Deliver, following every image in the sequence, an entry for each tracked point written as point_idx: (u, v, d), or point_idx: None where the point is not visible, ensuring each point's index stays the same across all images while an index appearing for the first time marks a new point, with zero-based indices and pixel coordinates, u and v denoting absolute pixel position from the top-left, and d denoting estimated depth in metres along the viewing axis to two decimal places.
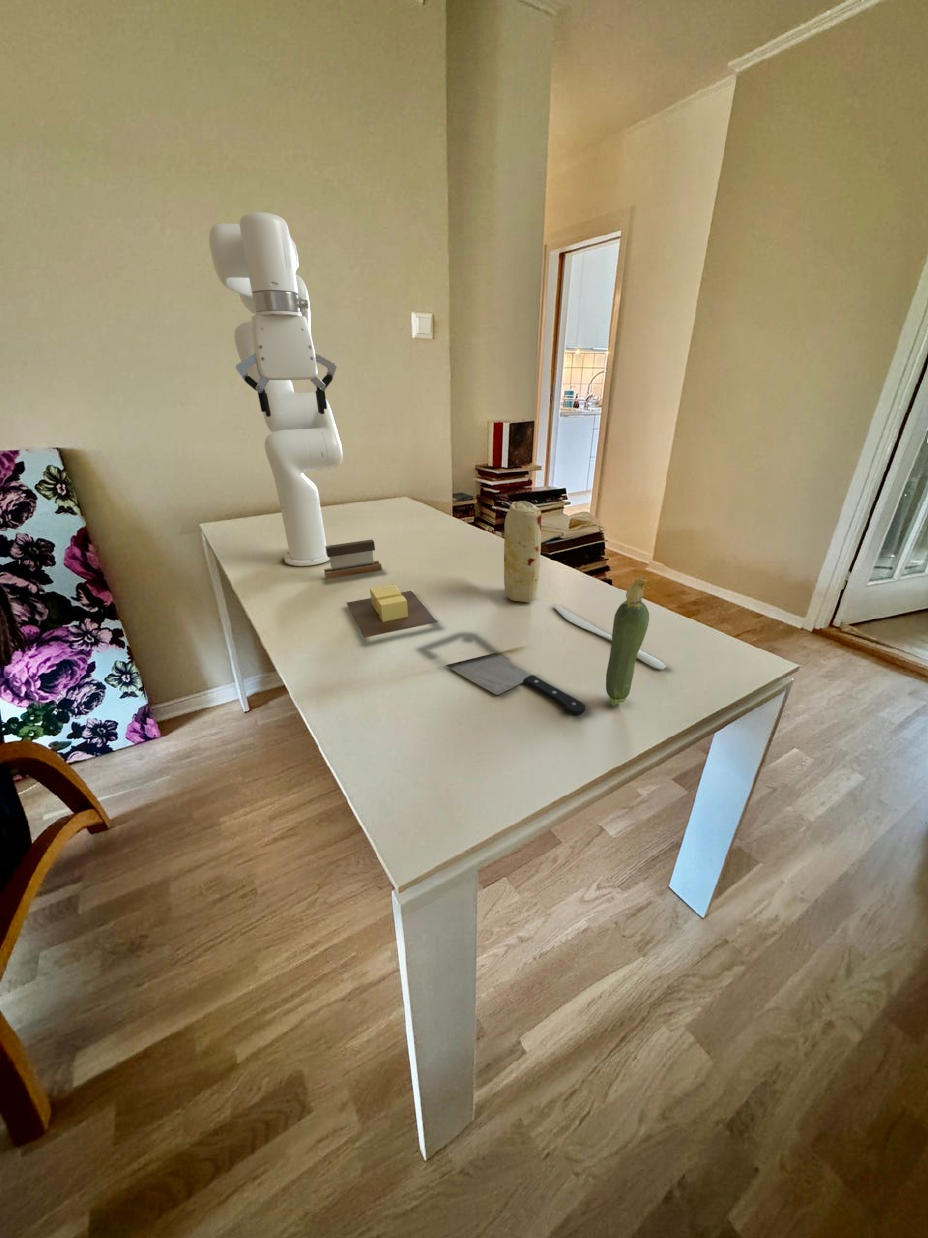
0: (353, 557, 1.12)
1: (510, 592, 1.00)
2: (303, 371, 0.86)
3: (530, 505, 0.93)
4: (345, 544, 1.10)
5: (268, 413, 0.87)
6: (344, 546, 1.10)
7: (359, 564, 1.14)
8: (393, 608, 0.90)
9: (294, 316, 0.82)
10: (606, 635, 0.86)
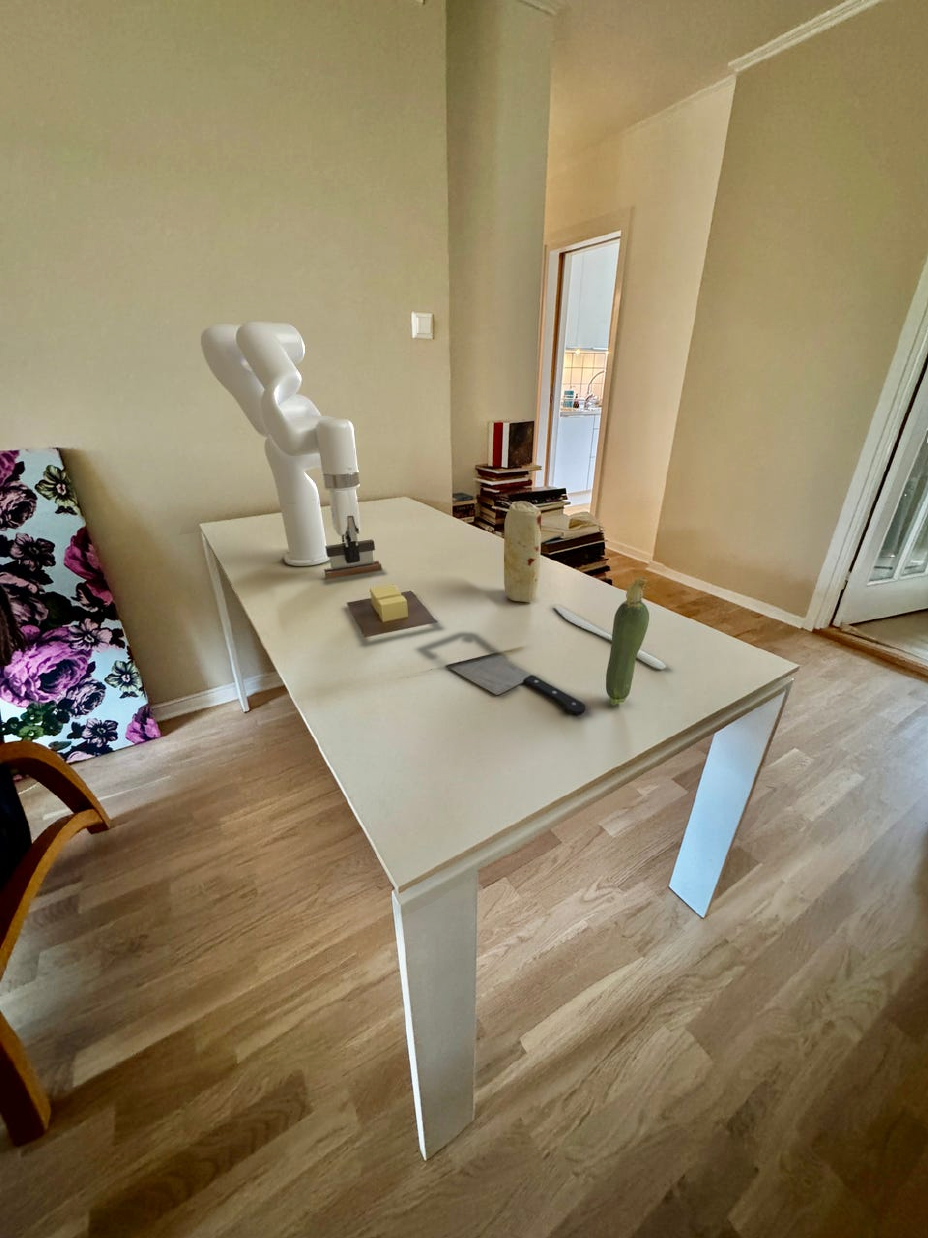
0: None
1: (510, 592, 1.00)
2: None
3: (530, 505, 0.93)
4: None
5: (359, 558, 1.12)
6: None
7: (359, 564, 1.14)
8: (393, 608, 0.90)
9: None
10: (606, 635, 0.86)
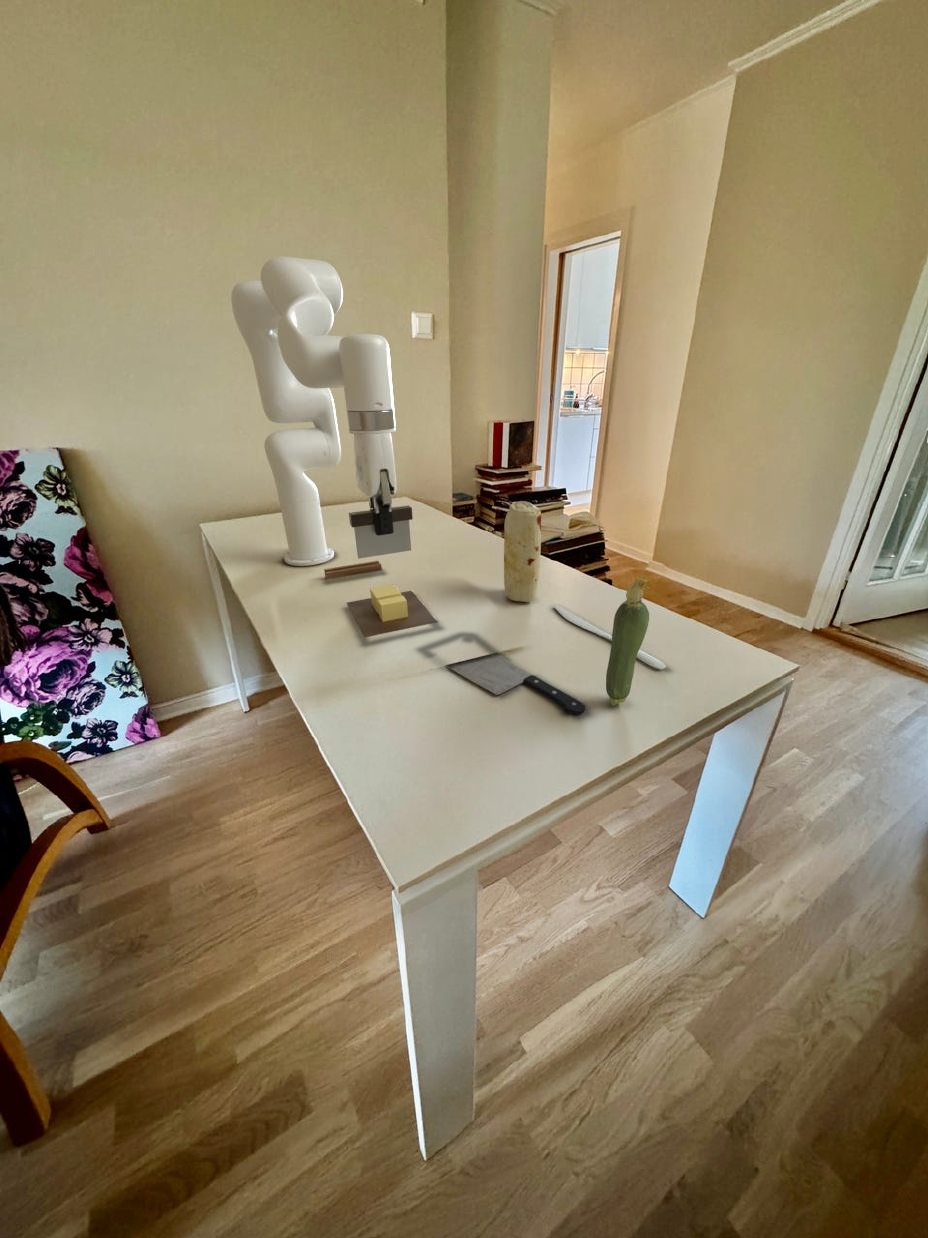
0: None
1: (510, 592, 1.00)
2: None
3: (530, 505, 0.93)
4: None
5: (392, 529, 0.86)
6: None
7: (392, 538, 0.87)
8: (393, 608, 0.90)
9: None
10: (606, 635, 0.86)
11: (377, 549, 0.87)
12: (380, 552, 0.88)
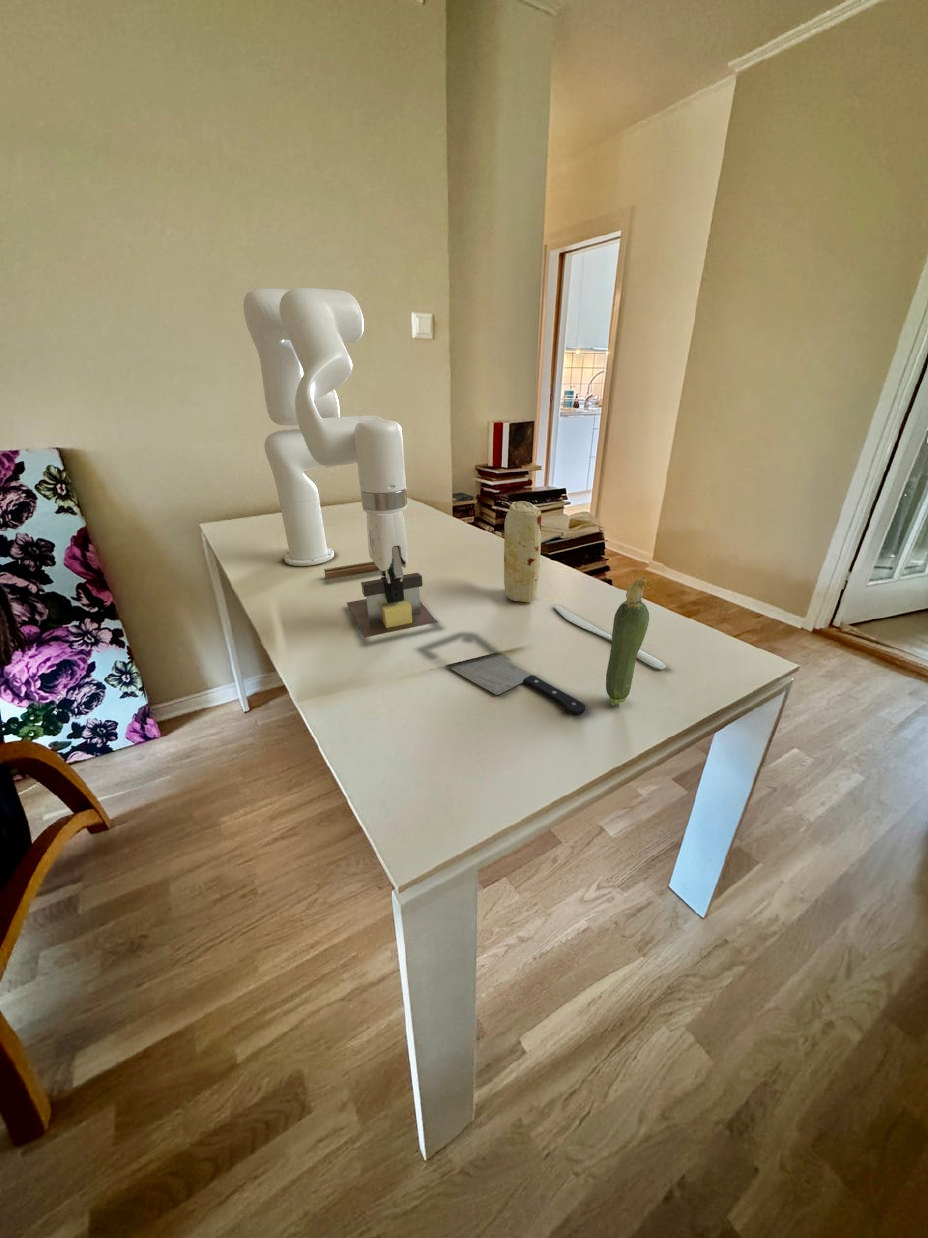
0: None
1: (510, 592, 1.00)
2: None
3: (530, 505, 0.93)
4: None
5: None
6: None
7: None
8: (398, 614, 0.88)
9: None
10: (606, 635, 0.86)
11: None
12: None
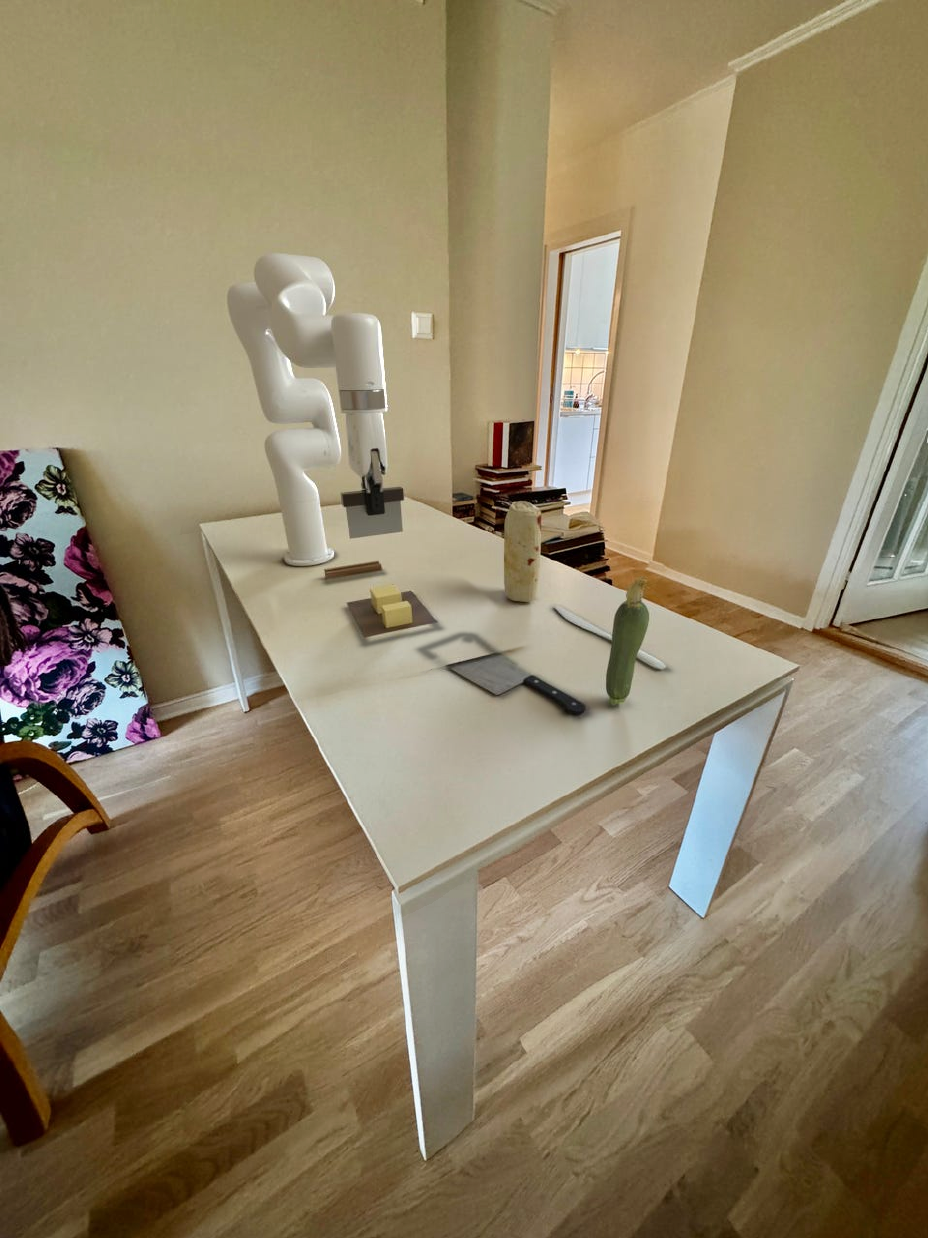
0: None
1: (510, 592, 1.00)
2: None
3: (530, 505, 0.93)
4: None
5: None
6: None
7: (383, 518, 0.88)
8: (397, 614, 0.88)
9: None
10: (606, 635, 0.86)
11: (369, 529, 0.88)
12: (372, 532, 0.89)
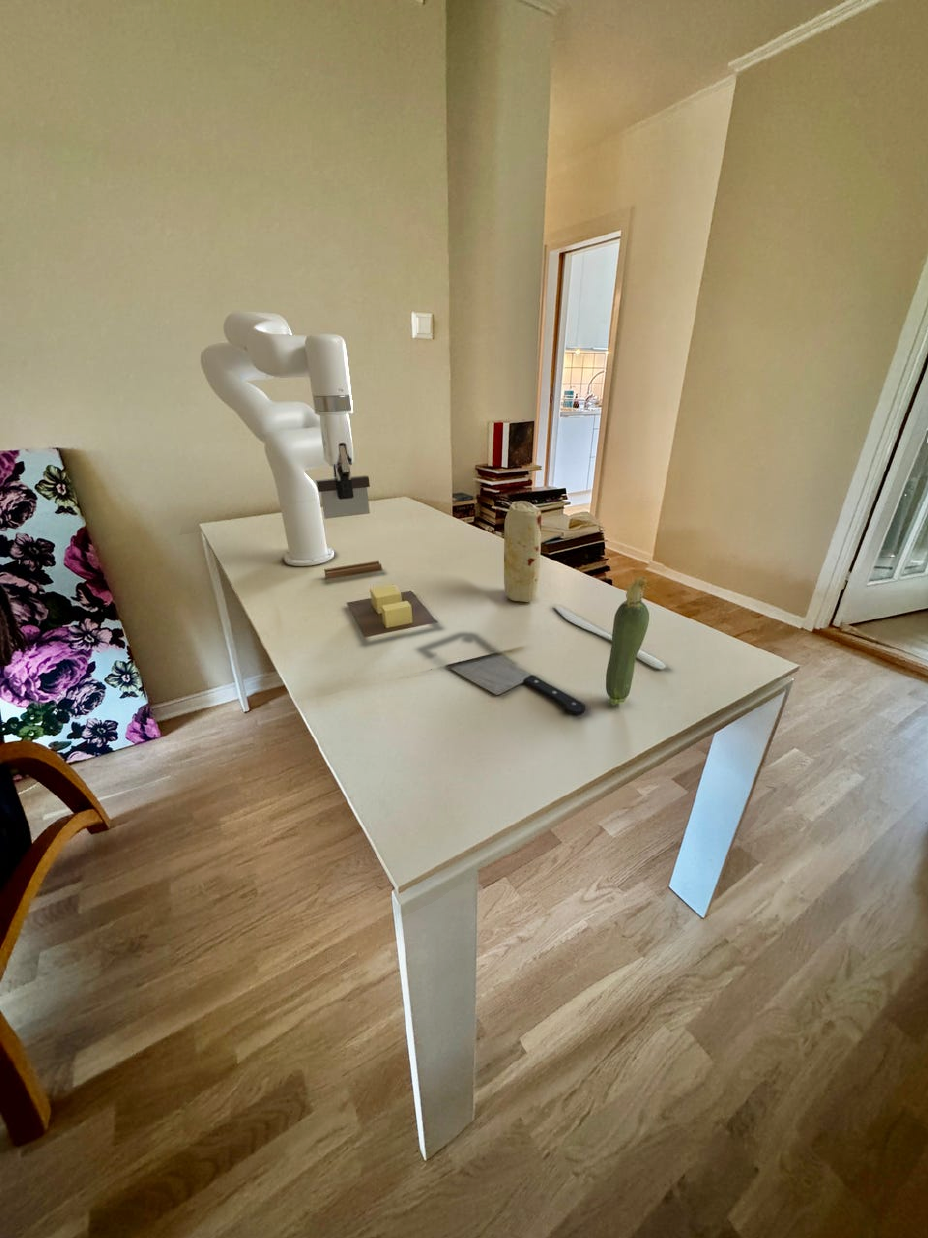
0: None
1: (510, 592, 1.00)
2: None
3: (530, 505, 0.93)
4: None
5: None
6: None
7: (353, 502, 1.06)
8: (397, 614, 0.88)
9: None
10: (606, 635, 0.86)
11: (340, 511, 1.06)
12: (343, 514, 1.06)
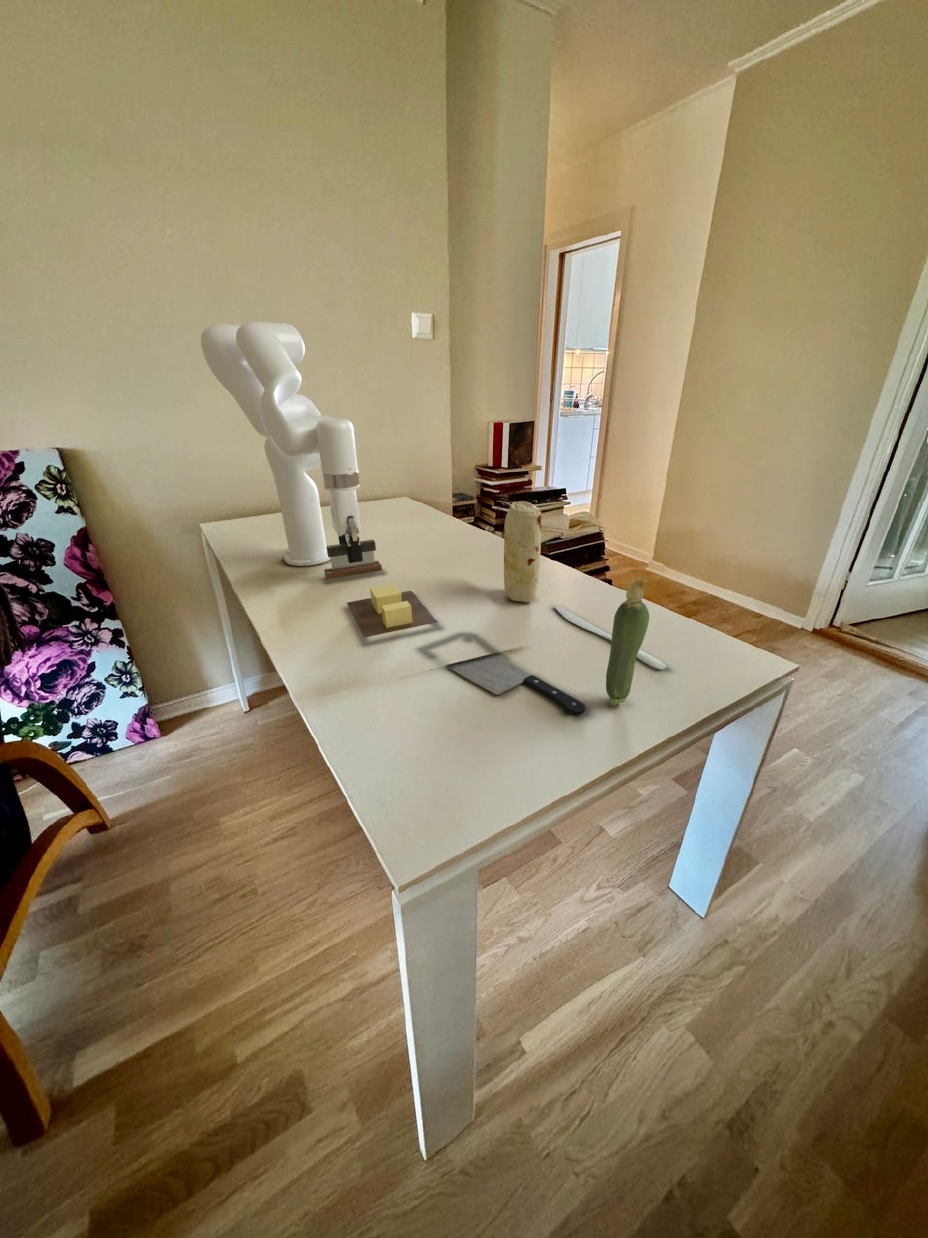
0: None
1: (510, 592, 1.00)
2: None
3: (530, 505, 0.93)
4: (346, 544, 1.10)
5: None
6: (345, 546, 1.10)
7: (360, 564, 1.13)
8: (397, 614, 0.88)
9: None
10: (606, 635, 0.86)
11: None
12: None
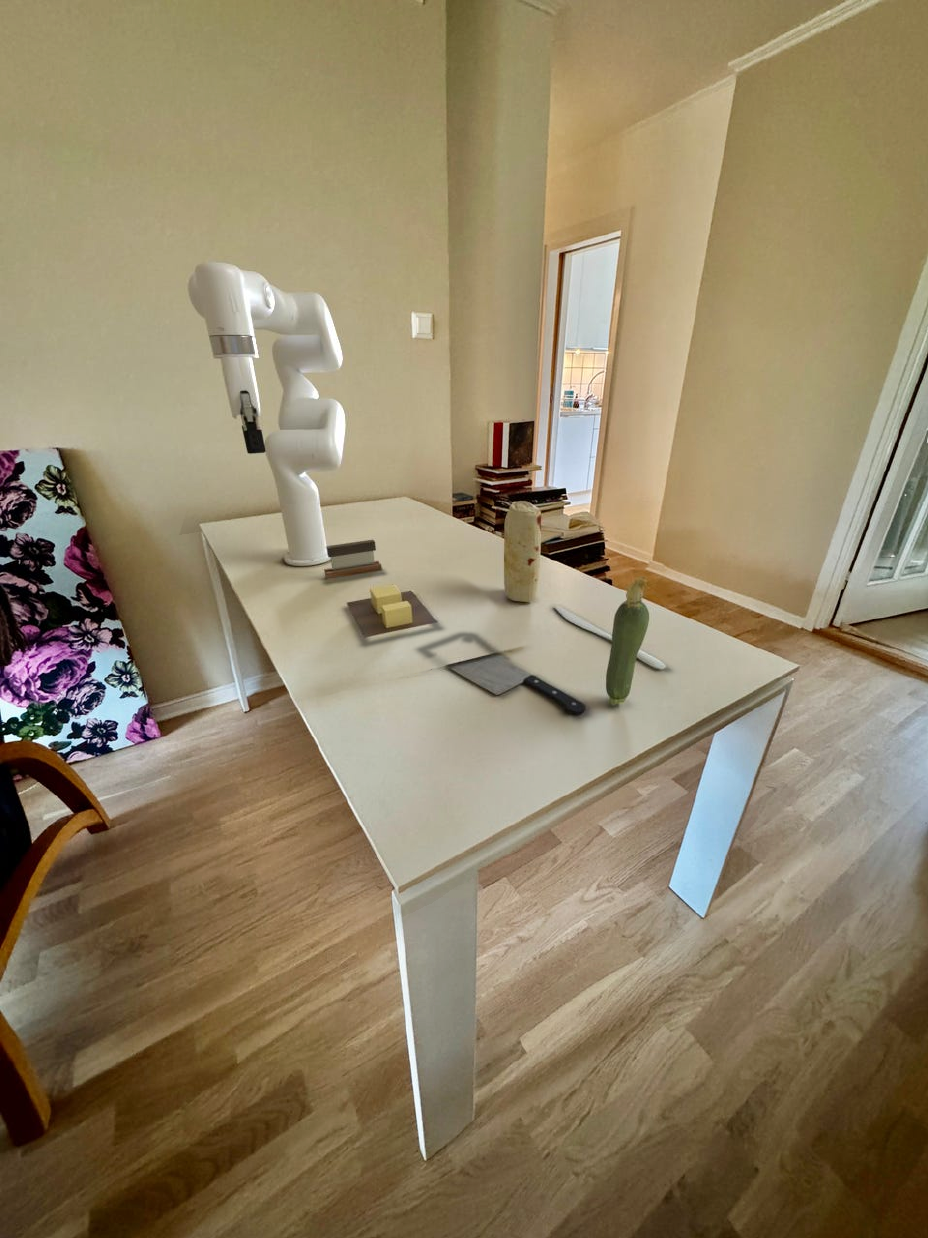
0: (354, 557, 1.12)
1: (510, 592, 1.00)
2: None
3: (530, 505, 0.93)
4: (346, 544, 1.10)
5: (265, 449, 0.90)
6: (345, 546, 1.10)
7: (360, 564, 1.13)
8: (397, 614, 0.88)
9: None
10: (606, 635, 0.86)
11: None
12: None
